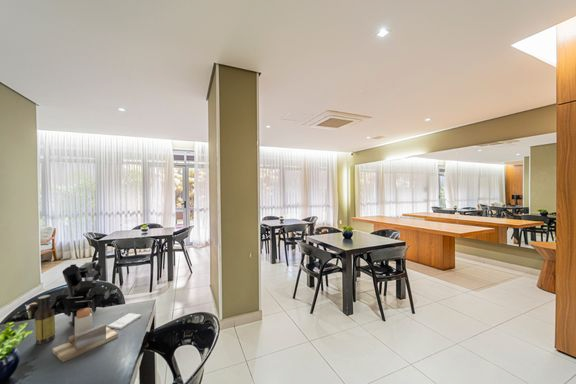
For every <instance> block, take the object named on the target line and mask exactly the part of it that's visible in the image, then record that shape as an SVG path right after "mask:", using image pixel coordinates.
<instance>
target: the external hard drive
mask: <svg viewBox="0 0 576 384" xmlns="http://www.w3.org/2000/svg"><path fill="white" fill-rule="evenodd" d="M141 317H142V314H140V313H139V314H138V313H133V312H132V313H131V312H129V313H127V314H125V315H123V316H122V317H120V318H119V319H117V320H115V321H113V322H111V323H110V324H108V325H106V326H107V327H108V328H110V329H115V330H122V329H124V328H125V327H127V326H129V325H130V324H132V323H134V322H135V321H136V320H138V319H140V318H141Z"/></svg>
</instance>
